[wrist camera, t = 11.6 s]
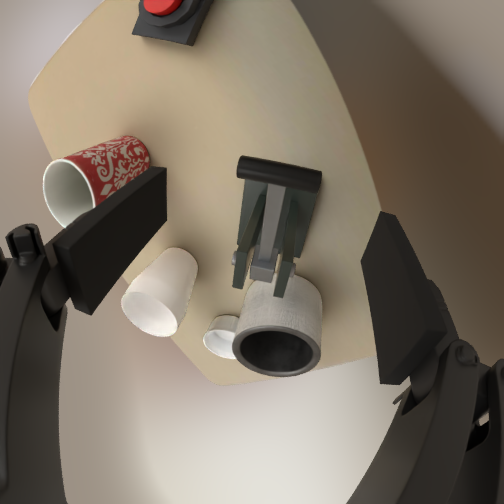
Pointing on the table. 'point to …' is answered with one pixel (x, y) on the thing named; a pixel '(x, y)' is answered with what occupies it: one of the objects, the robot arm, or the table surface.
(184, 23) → the switch block
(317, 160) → the table surface
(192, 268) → the cup
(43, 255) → the robot arm
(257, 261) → the switch lever
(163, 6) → the button
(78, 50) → the table surface
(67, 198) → the mug
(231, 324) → the ramekin
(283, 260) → the lever bracket
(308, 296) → the planter
